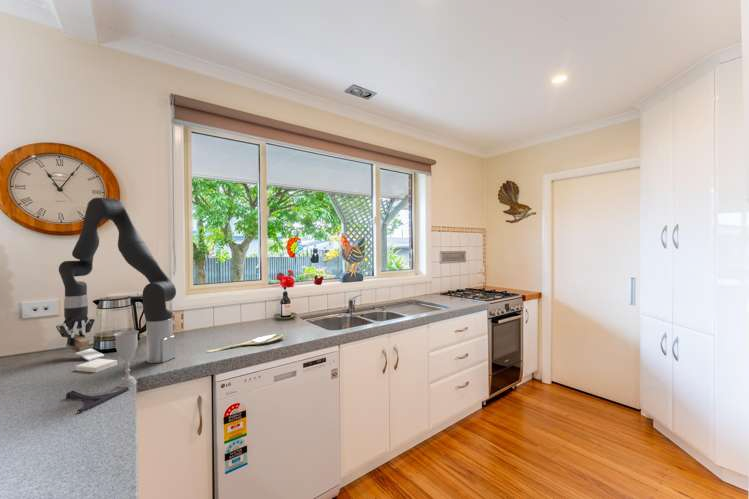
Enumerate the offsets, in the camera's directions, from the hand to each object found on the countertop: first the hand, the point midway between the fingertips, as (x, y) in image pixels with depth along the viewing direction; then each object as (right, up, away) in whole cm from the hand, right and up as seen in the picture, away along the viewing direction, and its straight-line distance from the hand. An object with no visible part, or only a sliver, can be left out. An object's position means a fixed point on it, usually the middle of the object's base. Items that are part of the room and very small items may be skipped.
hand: (76, 344), depth 136 cm
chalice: (+45, -5, -28) cm, 54 cm away
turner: (+4, -3, -1) cm, 5 cm away
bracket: (+41, -6, -39) cm, 57 cm away
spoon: (+70, -5, +13) cm, 71 cm away
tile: (+16, -5, -12) cm, 20 cm away
